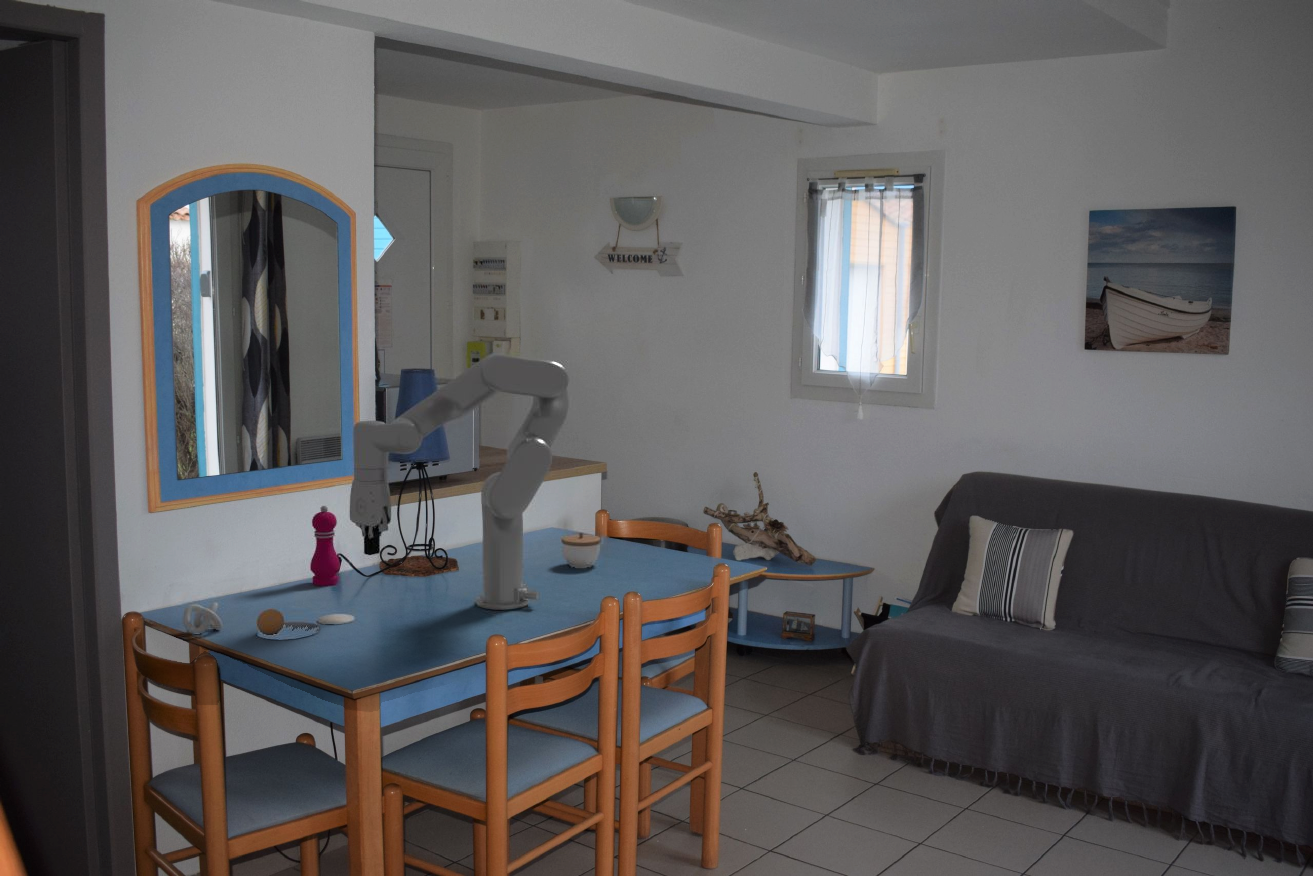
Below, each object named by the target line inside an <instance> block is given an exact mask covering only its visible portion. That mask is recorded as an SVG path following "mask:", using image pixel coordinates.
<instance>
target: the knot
mask: <svg viewBox="0 0 1313 876" xmlns="http://www.w3.org/2000/svg"><path fill="white" fill-rule="evenodd" d="M218 609H219V603H218V602H216V601H215V602H212V603H211V605H210V606H209V608H207V607H204V606H202V605H200V604H198V603H192V604H190V605H188V606H186V608H185V609H184V611H183V614H182V624H183V627H184V628H185V630H186V631H187V632H188V633H190V634H191V633H201V632H203V633H205V632H206V631H207V630H208V629H209V627H210V628H211V629H212V628H213V629H216V630H219V631H221V630H222V629H223V623H222V620H221V619H220V617H219V616H218V615H217V614H216V612H217V610H218ZM192 612H195V613H194V617H193V624H192V622H191V615H192ZM213 629H212V630H213Z"/></svg>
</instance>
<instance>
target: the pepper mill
mask: <svg viewBox="0 0 1313 876" xmlns="http://www.w3.org/2000/svg"><path fill="white" fill-rule="evenodd" d="M328 510H329V508H328V505H327V506H326V505H322V506H321V507H320V512H317V513H315V514H314V515H313V517H312V519H311V525H312V527H313V529H314V532H313V533H314V538H315V542H316V543H315V544H316V545H315V550H314V553H313V556H312V558H311V561H310V564H309V565H310V566H309V567H310V571H311V572H312V573H313V574H314V576H312V584H313V585H314V586H318V587H328V586H330V587H331V586H334V585H337V584H338V583H339V575H337V573H338V571H340V568H341V563H340V559H339V557H338V555H337V553H336V549H335V545H334V537H336V534H335V532H336V531H335V530H334V529H335V528H336V526H337V524H338V522H337V521H338V520H337V517H336V515H335V514H334V513H332V512H330V511H328Z"/></svg>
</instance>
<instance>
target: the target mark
mask: <svg viewBox="0 0 1313 876" xmlns="http://www.w3.org/2000/svg"><path fill="white" fill-rule="evenodd" d="M284 624H285V625H286V628H287V627H288V626H289V627H290V626H291V625H292V627H293V629H292V631H293V630H294V629H295V628H296V629H297V628H298V627H299V628H300V627H301V629H302V628H303V627H304V628H305V627H306V626H307V627H308V629H306V630H307V631H308V630H309V629H310V630H311V629H312V628H313V629H314V628H315V627H316V628H317V627H318V626H319V625H318V624H315V623H312V622H307V621H306V622H305V621H289V622H288V621H287V622H286V621H285V622H284ZM306 630H305V631H306ZM319 630H320V631H321V627H320V626H319V629H317V630H316V632H317V631H319ZM320 631H319V632H320Z"/></svg>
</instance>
